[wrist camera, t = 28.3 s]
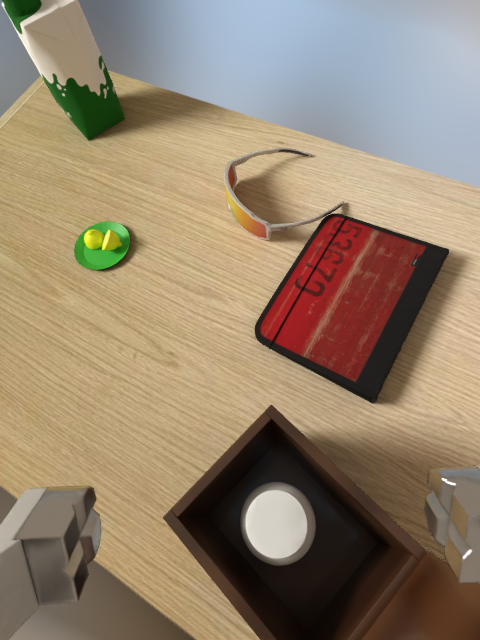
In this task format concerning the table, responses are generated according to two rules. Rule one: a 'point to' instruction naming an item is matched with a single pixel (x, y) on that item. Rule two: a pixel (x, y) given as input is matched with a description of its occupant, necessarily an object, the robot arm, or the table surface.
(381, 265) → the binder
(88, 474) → the table surface
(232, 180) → the sunglasses
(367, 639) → the chest lid
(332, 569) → the chest
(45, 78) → the soya milk
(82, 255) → the plate with lemons
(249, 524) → the pill bottle
